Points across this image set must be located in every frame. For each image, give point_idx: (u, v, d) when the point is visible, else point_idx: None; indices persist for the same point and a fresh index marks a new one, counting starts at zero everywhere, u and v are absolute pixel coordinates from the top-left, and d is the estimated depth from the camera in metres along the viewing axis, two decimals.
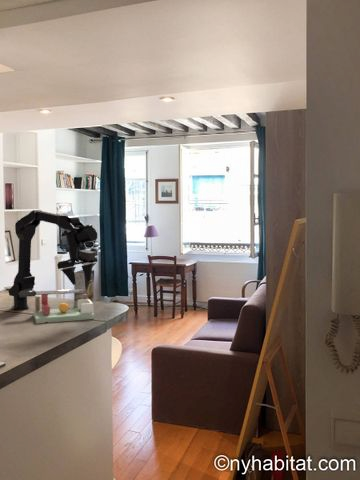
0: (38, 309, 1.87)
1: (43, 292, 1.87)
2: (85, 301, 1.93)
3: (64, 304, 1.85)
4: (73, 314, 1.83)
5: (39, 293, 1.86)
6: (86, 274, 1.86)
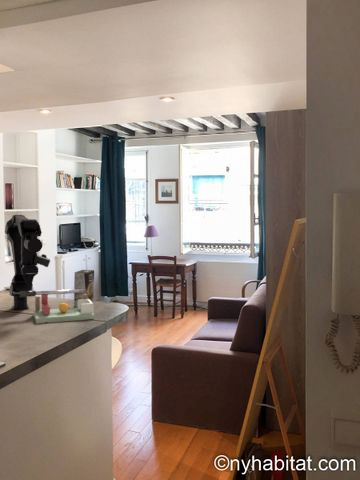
0: (38, 309, 1.87)
1: (43, 292, 1.87)
2: (85, 301, 1.93)
3: (64, 304, 1.85)
4: (73, 314, 1.83)
5: (39, 293, 1.86)
6: None
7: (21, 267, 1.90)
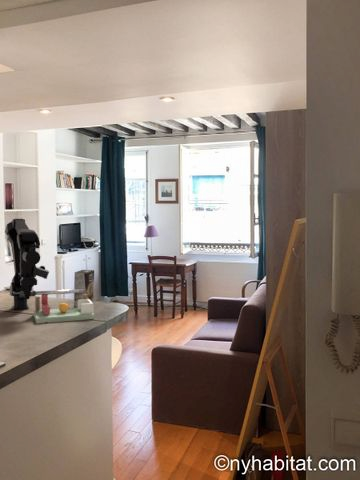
0: (38, 309, 1.87)
1: (43, 292, 1.87)
2: (85, 301, 1.93)
3: (64, 304, 1.85)
4: (73, 314, 1.83)
5: (39, 293, 1.86)
6: None
7: (20, 280, 1.88)
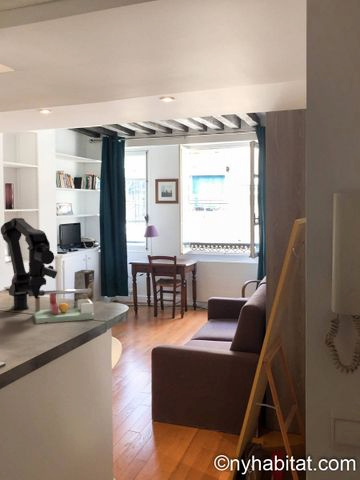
0: (38, 309, 1.87)
1: (51, 292, 1.88)
2: (85, 301, 1.93)
3: (64, 304, 1.85)
4: (73, 314, 1.83)
5: (47, 293, 1.88)
6: None
7: (29, 279, 1.89)
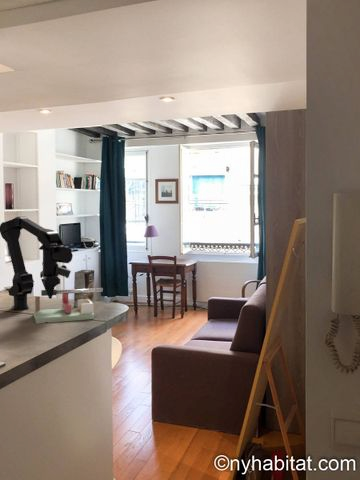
0: (38, 309, 1.87)
1: (64, 291, 1.90)
2: (85, 301, 1.93)
3: (80, 311, 1.88)
4: (73, 314, 1.83)
5: (60, 292, 1.90)
6: None
7: None
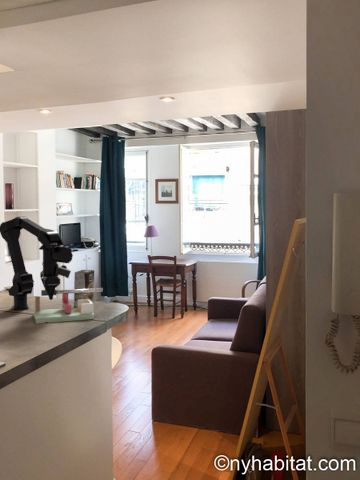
0: (38, 309, 1.87)
1: (64, 291, 1.90)
2: (85, 301, 1.93)
3: (79, 312, 1.88)
4: (73, 314, 1.83)
5: (60, 292, 1.90)
6: None
7: (41, 278, 1.94)
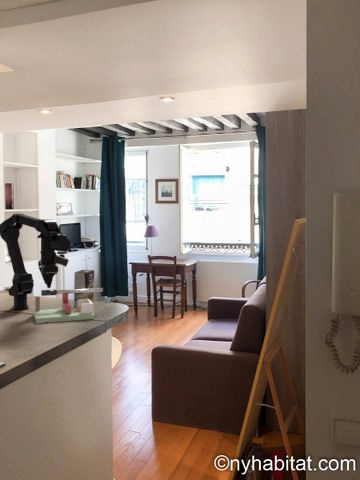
0: (38, 309, 1.87)
1: (64, 291, 1.90)
2: (85, 301, 1.93)
3: (79, 312, 1.88)
4: (73, 314, 1.83)
5: (60, 292, 1.90)
6: None
7: (39, 266, 1.94)
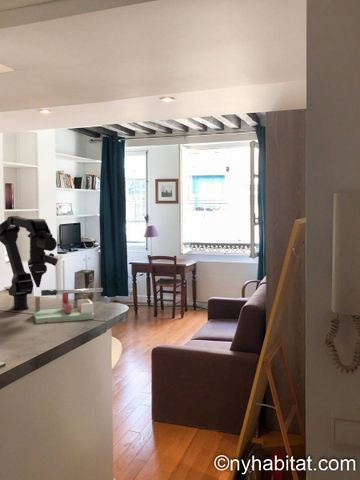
0: (38, 309, 1.87)
1: (64, 291, 1.90)
2: (85, 301, 1.93)
3: (79, 312, 1.88)
4: (73, 314, 1.83)
5: (60, 292, 1.90)
6: None
7: (29, 266, 1.94)
